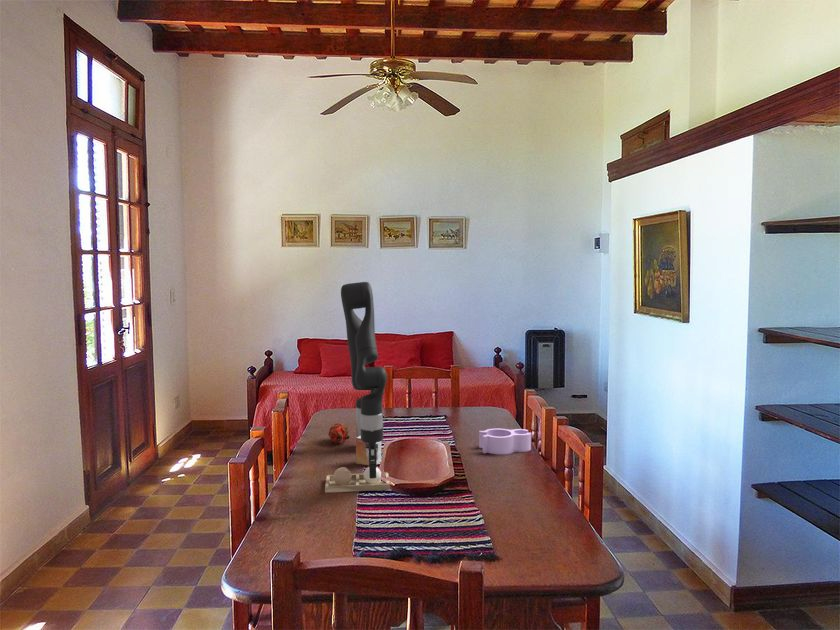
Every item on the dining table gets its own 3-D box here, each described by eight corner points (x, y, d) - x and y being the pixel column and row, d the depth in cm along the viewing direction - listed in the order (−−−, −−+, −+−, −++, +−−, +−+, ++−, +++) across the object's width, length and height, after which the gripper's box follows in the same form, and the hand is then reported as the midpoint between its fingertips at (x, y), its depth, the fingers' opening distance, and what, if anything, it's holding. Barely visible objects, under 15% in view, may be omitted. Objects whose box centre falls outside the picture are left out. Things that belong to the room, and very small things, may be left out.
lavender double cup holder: (524, 443, 235) (525, 427, 234) (534, 453, 222) (534, 436, 222) (477, 445, 233) (477, 429, 232) (484, 455, 220) (484, 438, 220)
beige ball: (334, 482, 192) (333, 465, 192) (351, 481, 193) (351, 464, 192) (333, 489, 186) (332, 471, 186) (351, 488, 187) (351, 470, 186)
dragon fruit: (340, 440, 245) (341, 453, 233) (324, 431, 242) (324, 443, 231) (351, 425, 244) (353, 437, 232) (335, 415, 242) (336, 427, 230)
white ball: (363, 480, 193) (363, 463, 193) (381, 479, 194) (381, 462, 193) (363, 487, 187) (363, 470, 187) (381, 486, 188) (381, 469, 187)
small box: (355, 465, 211) (355, 437, 210) (363, 460, 216) (363, 433, 215) (373, 468, 207) (373, 440, 206) (381, 463, 212) (381, 436, 211)
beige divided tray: (327, 482, 194) (327, 475, 194) (388, 479, 197) (388, 472, 196) (325, 494, 183) (325, 487, 183) (389, 491, 186) (389, 484, 185)
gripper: (360, 420, 195) (361, 466, 197) (360, 433, 181) (361, 481, 183) (382, 419, 196) (382, 465, 198) (383, 432, 182) (384, 480, 184)
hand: (372, 473), depth 190 cm, fingers open, 8 cm apart
